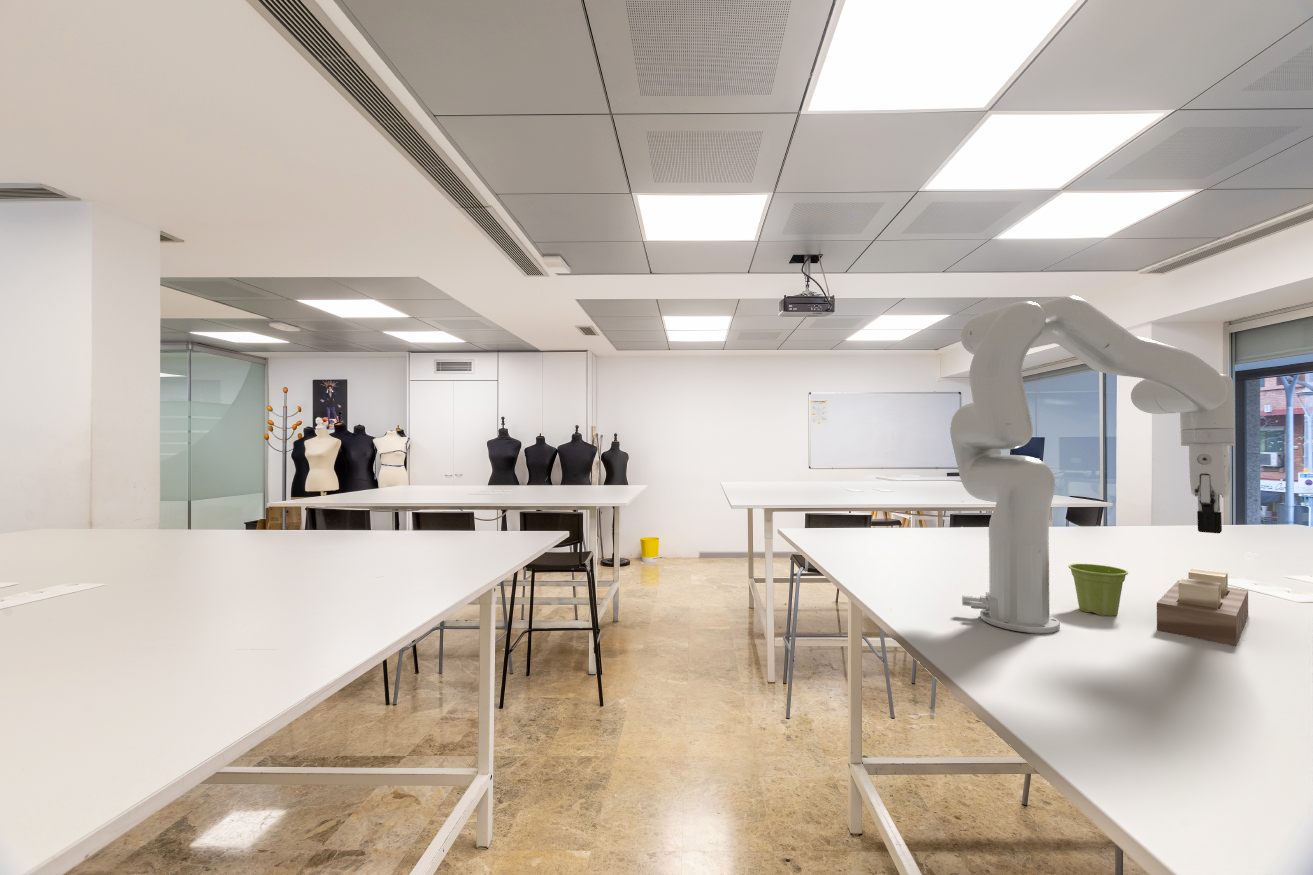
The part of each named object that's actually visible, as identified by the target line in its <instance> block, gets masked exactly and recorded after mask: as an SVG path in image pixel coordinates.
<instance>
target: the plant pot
mask: <svg viewBox="0 0 1313 875" xmlns="http://www.w3.org/2000/svg"><path fill="white" fill-rule="evenodd" d="M1068 568H1069V569H1070V570H1071V571H1070V572H1071V575H1072V576H1073V577H1072V578H1073V580H1074V586H1075V591H1076V598H1077V603H1078V609H1079V610H1080V611H1083V612H1085V613H1094V614H1096V615H1099V616H1110V617H1111V616H1115V615H1118V613H1119V608H1120V604H1121V603H1120V601H1121V594H1122V591H1123V590H1122V589H1123V583H1124V582H1125V580H1126V576H1127V575H1129V571H1128V570H1126V569H1123V568H1120V567H1115V566H1110V565H1103V564H1102V565H1101V564H1092V563H1072V564H1068Z"/></svg>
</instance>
